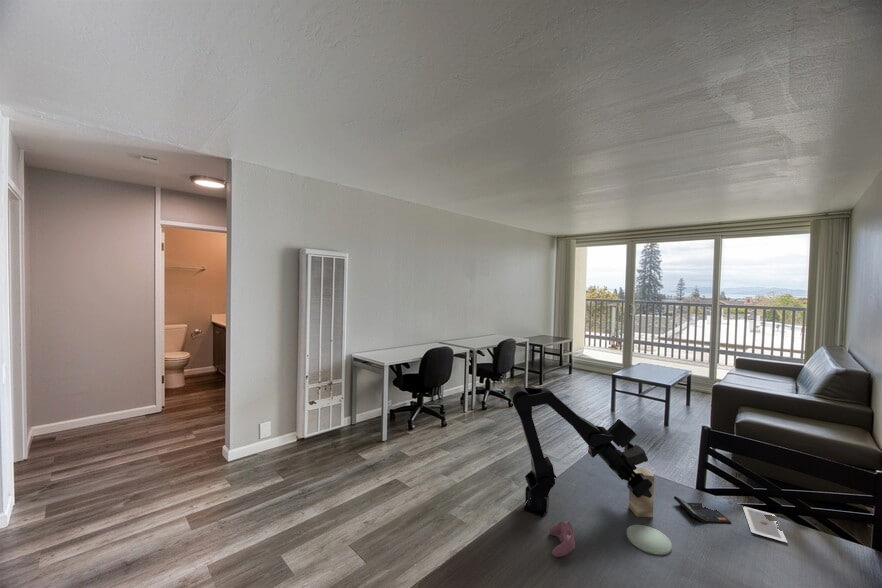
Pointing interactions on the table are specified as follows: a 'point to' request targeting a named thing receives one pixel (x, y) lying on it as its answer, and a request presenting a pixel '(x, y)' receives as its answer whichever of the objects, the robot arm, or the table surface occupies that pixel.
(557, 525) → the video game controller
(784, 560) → the table surface
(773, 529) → the touchpad
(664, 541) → the sage mat
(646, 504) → the maple block
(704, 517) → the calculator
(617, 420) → the robot arm
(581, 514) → the table surface
